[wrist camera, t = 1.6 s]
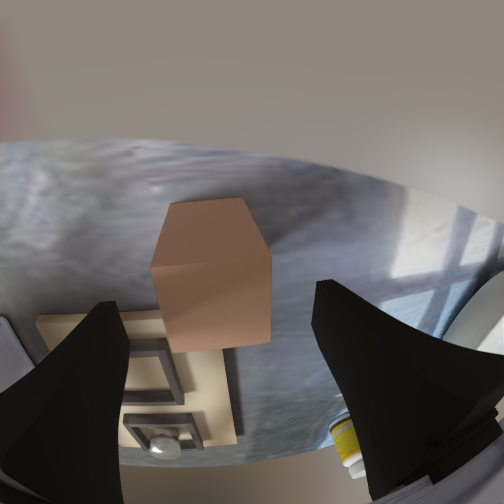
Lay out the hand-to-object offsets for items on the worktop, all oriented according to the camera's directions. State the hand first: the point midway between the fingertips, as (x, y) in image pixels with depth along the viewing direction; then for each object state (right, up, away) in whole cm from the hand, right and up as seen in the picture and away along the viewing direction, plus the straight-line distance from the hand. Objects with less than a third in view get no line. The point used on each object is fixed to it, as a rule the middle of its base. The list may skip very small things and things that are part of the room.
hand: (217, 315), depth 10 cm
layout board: (-8, -11, +12) cm, 18 cm away
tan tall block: (-1, +3, +6) cm, 7 cm away
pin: (-8, -15, +15) cm, 22 cm away
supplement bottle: (+13, -19, +21) cm, 31 cm away
